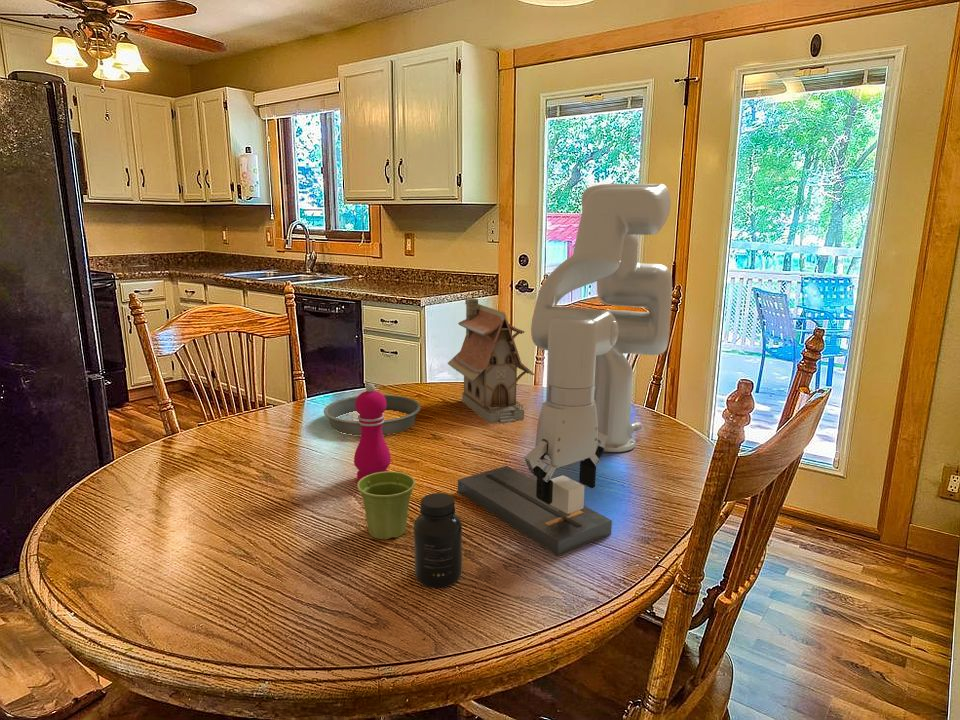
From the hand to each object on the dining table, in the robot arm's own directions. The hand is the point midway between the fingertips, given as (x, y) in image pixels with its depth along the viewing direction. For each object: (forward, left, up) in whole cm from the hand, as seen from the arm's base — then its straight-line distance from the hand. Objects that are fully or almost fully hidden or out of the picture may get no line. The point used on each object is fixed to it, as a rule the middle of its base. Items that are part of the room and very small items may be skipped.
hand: (566, 492), depth 99 cm
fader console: (0, -9, -7) cm, 11 cm away
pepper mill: (+17, -37, -7) cm, 41 cm away
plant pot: (+24, -17, -7) cm, 30 cm away
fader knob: (0, 0, -4) cm, 4 cm away
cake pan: (+1, -70, -7) cm, 70 cm away
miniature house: (-31, -62, -7) cm, 69 cm away
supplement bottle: (+24, -1, -7) cm, 25 cm away
